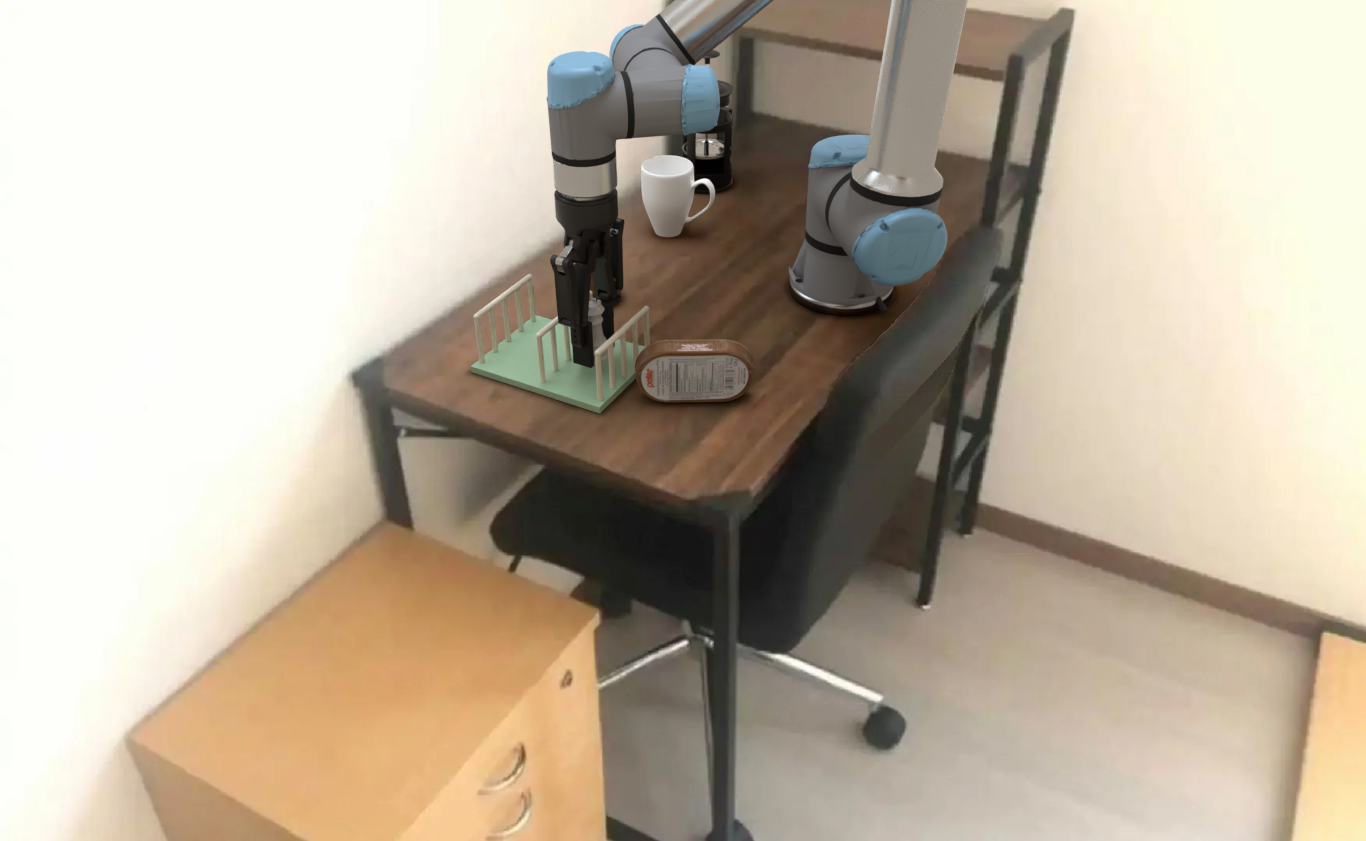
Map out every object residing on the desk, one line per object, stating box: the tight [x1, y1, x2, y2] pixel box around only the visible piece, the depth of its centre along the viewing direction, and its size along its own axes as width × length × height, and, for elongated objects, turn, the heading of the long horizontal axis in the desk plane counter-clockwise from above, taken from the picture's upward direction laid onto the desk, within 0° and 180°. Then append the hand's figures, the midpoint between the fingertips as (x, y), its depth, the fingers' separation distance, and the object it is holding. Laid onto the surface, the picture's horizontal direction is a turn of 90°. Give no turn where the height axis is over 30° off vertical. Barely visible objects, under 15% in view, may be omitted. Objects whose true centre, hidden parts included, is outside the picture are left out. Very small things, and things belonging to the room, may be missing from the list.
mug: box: [640, 154, 716, 238], centre depth 178 cm, size 12×8×11 cm
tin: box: [635, 338, 755, 404], centre depth 141 cm, size 15×3×8 cm, turn 92°
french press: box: [681, 49, 735, 195], centre depth 191 cm, size 12×9×23 cm
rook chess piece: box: [588, 298, 608, 364], centre depth 144 cm, size 4×4×8 cm
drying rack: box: [470, 273, 651, 415], centre depth 148 cm, size 20×15×8 cm
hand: (594, 354), depth 147 cm, fingers closed on rook chess piece, 4 cm apart
